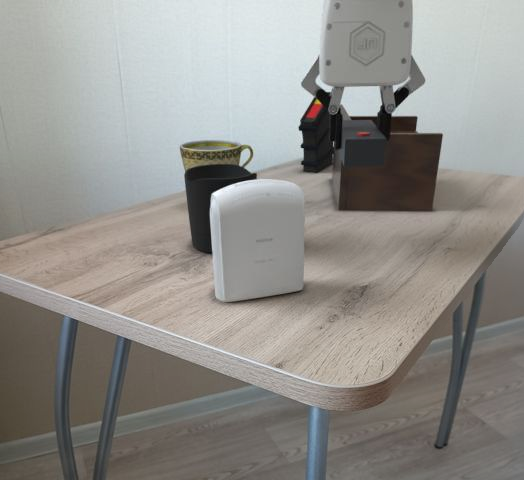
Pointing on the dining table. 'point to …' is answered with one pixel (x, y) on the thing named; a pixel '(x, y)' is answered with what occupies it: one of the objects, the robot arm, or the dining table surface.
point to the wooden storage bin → (391, 171)
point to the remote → (362, 144)
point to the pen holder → (208, 196)
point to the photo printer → (257, 239)
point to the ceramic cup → (212, 153)
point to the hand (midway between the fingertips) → (358, 145)
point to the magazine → (316, 137)
